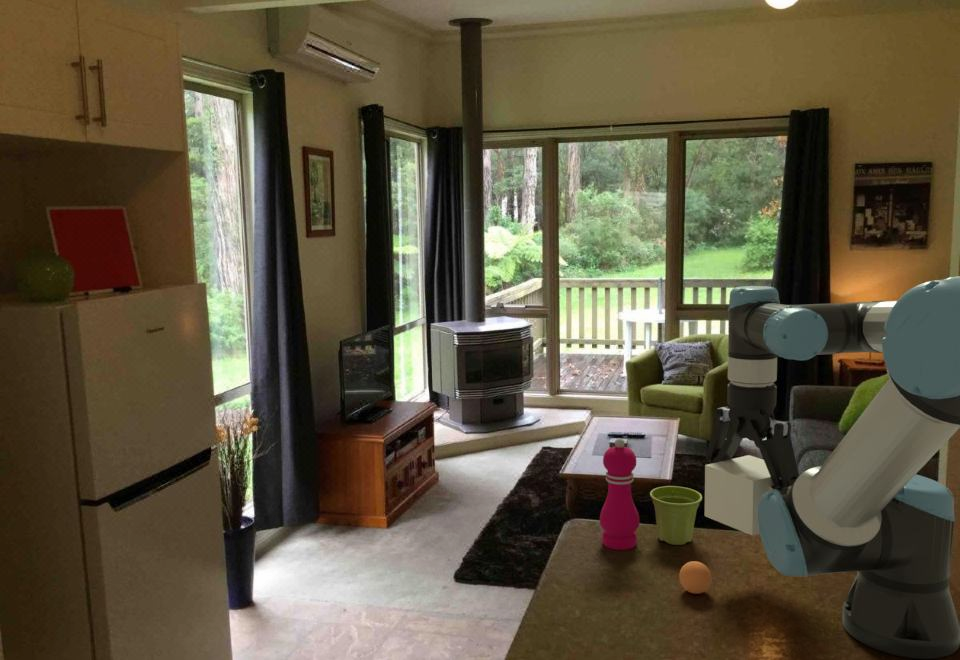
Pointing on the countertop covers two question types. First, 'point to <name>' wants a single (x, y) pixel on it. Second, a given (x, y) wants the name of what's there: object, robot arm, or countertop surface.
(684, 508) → the plant pot
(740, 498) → the cream cuboid
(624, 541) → the pepper mill
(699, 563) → the ball
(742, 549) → the countertop surface
